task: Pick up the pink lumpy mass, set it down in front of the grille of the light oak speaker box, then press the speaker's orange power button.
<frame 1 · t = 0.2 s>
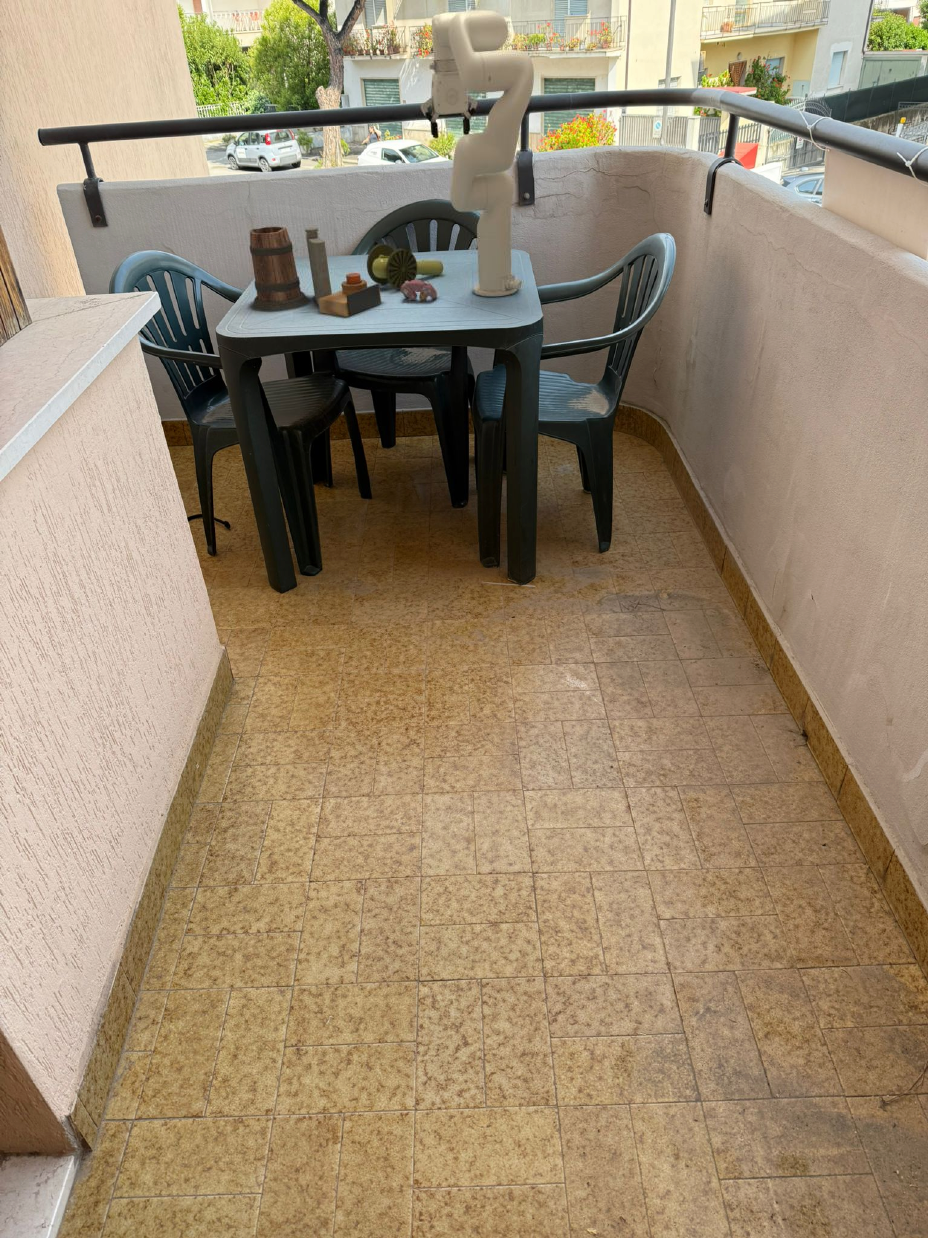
hand: (450, 135, 248), 37 cm above the table, tool pointing down, fingers open, 9 cm apart
cannon: (409, 283, 258), on the table
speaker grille: (365, 309, 236), on the table
speaker: (351, 307, 238), on the table
power button: (353, 279, 237), point 7 cm above the table, slide at 0.1 cm
pink lumpy mass: (419, 300, 241), on the table
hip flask: (322, 302, 245), on the table
tankard: (282, 300, 249), on the table
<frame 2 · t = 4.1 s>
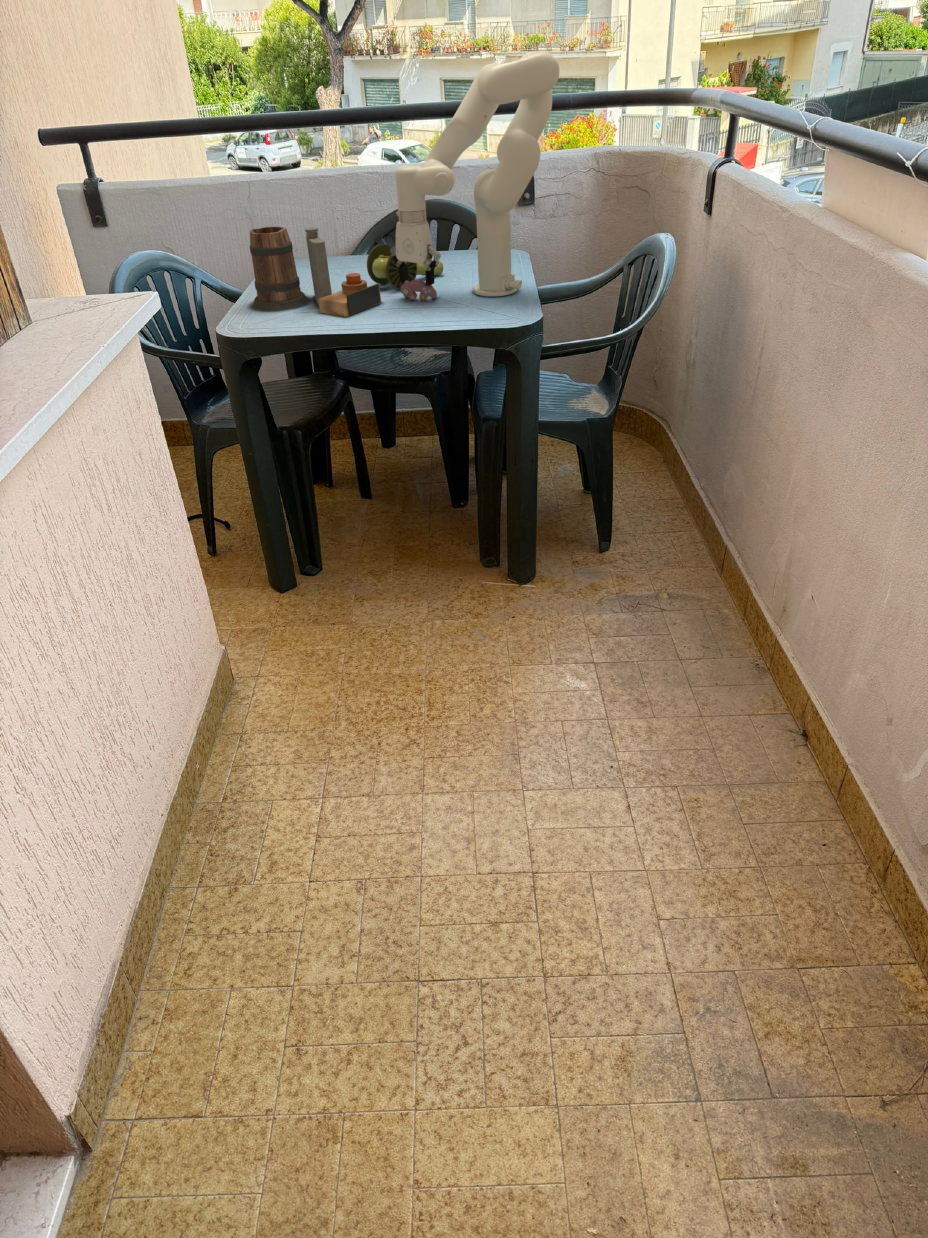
hand: (417, 282, 238), 5 cm above the table, tool pointing down, fingers open, 9 cm apart
pink lumpy mass: (419, 300, 242), on the table, touching gripper
everything else where it was.
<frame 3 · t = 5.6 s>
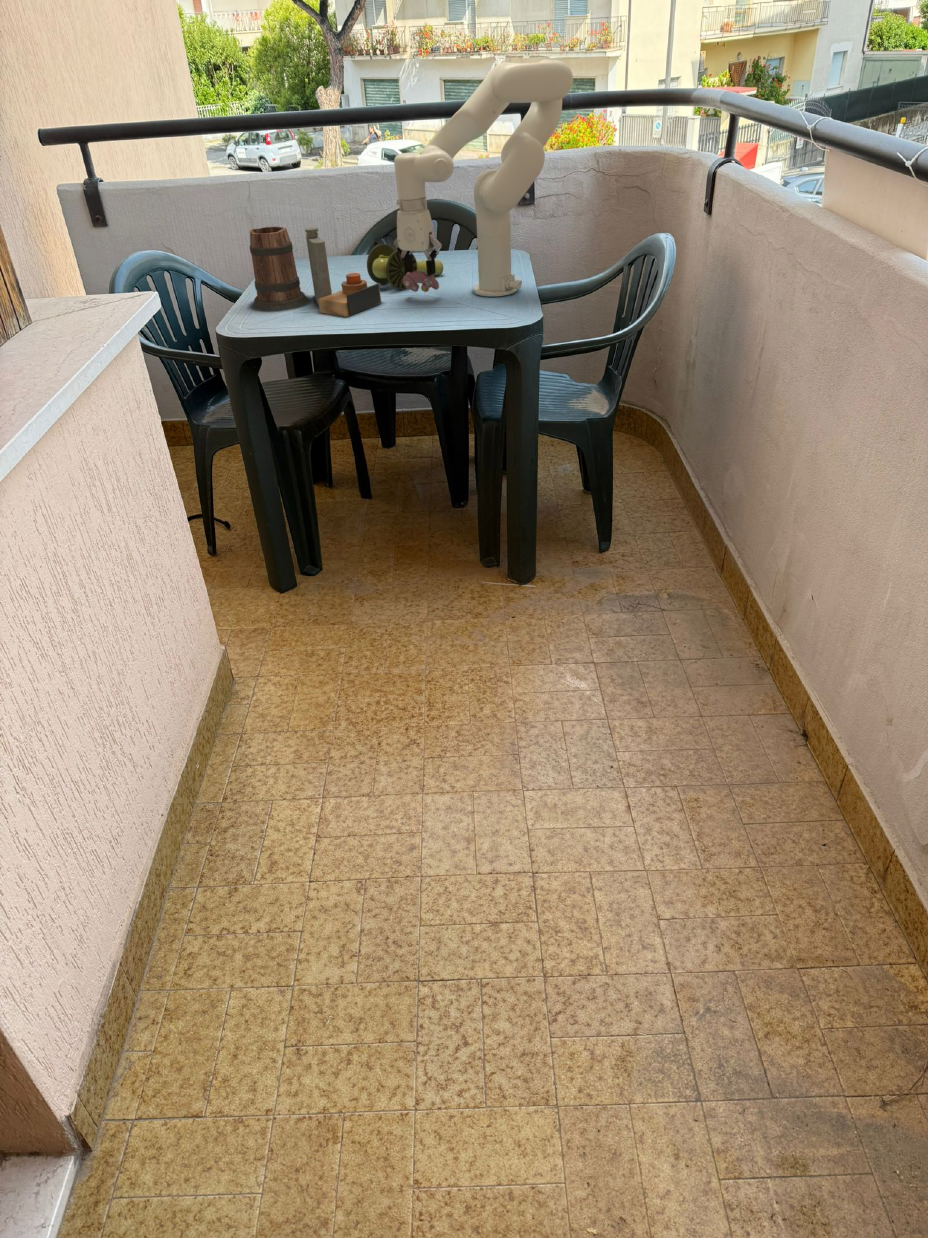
hand: (420, 272, 237), 7 cm above the table, tool pointing down, fingers closed on pink lumpy mass, 7 cm apart
pink lumpy mass: (421, 291, 241), point 2 cm above the table, touching gripper
everything else where it was.
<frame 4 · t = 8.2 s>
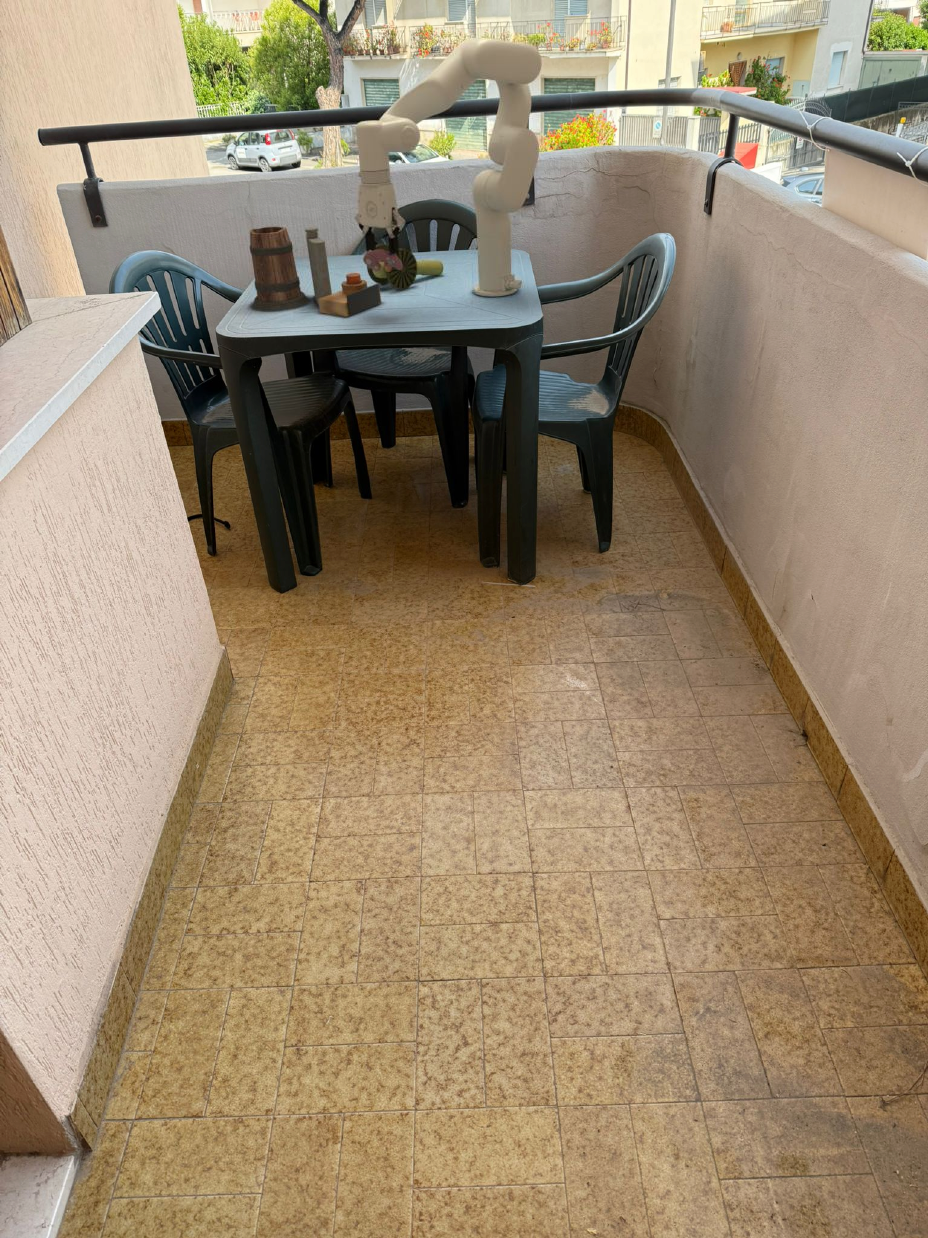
hand: (382, 251, 223), 16 cm above the table, tool pointing down, fingers closed on pink lumpy mass, 7 cm apart
pink lumpy mass: (383, 271, 226), point 11 cm above the table, touching gripper
everything else where it was.
when the fingers open (5 cm above the table, at t = 11.2 s): pink lumpy mass stays where it is, on the table.
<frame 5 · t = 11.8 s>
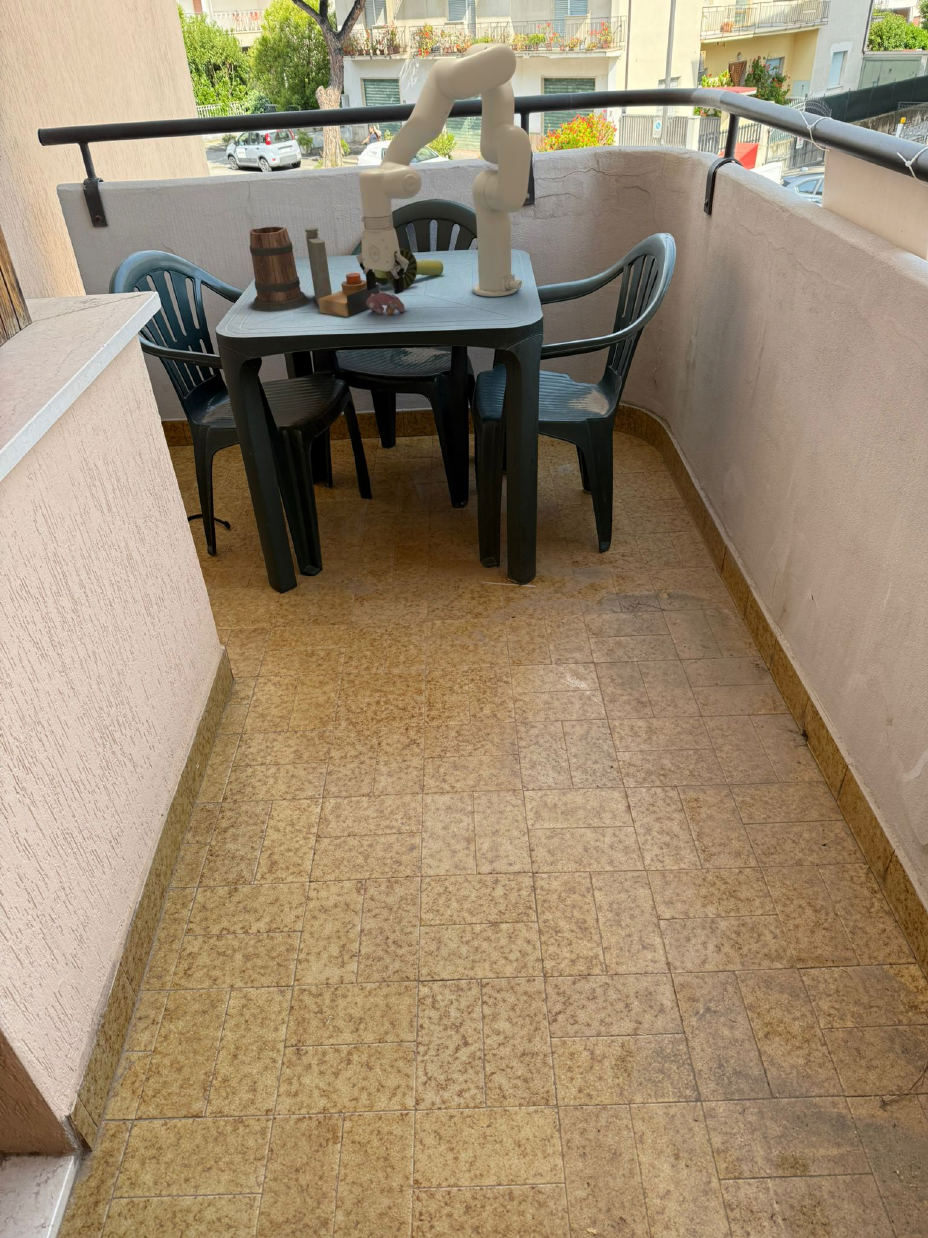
hand: (385, 290, 228), 6 cm above the table, tool pointing down, fingers open, 9 cm apart
pink lumpy mass: (386, 314, 232), on the table
everything else where it was.
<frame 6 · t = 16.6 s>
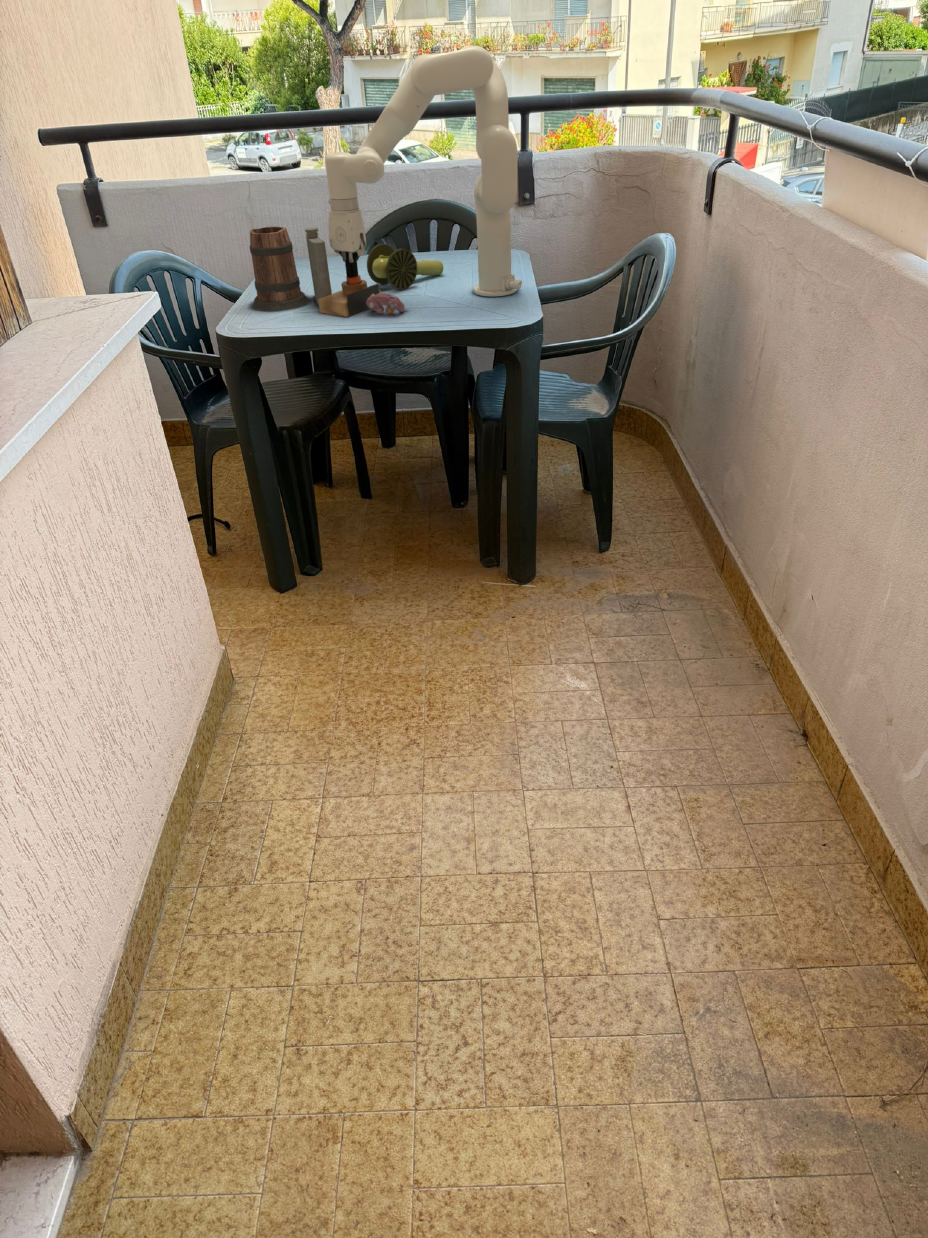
hand: (352, 275, 236), 8 cm above the table, tool pointing down, fingers closed
power button: (353, 280, 237), point 6 cm above the table, slide at -0.4 cm, touching gripper
everything else where it was.
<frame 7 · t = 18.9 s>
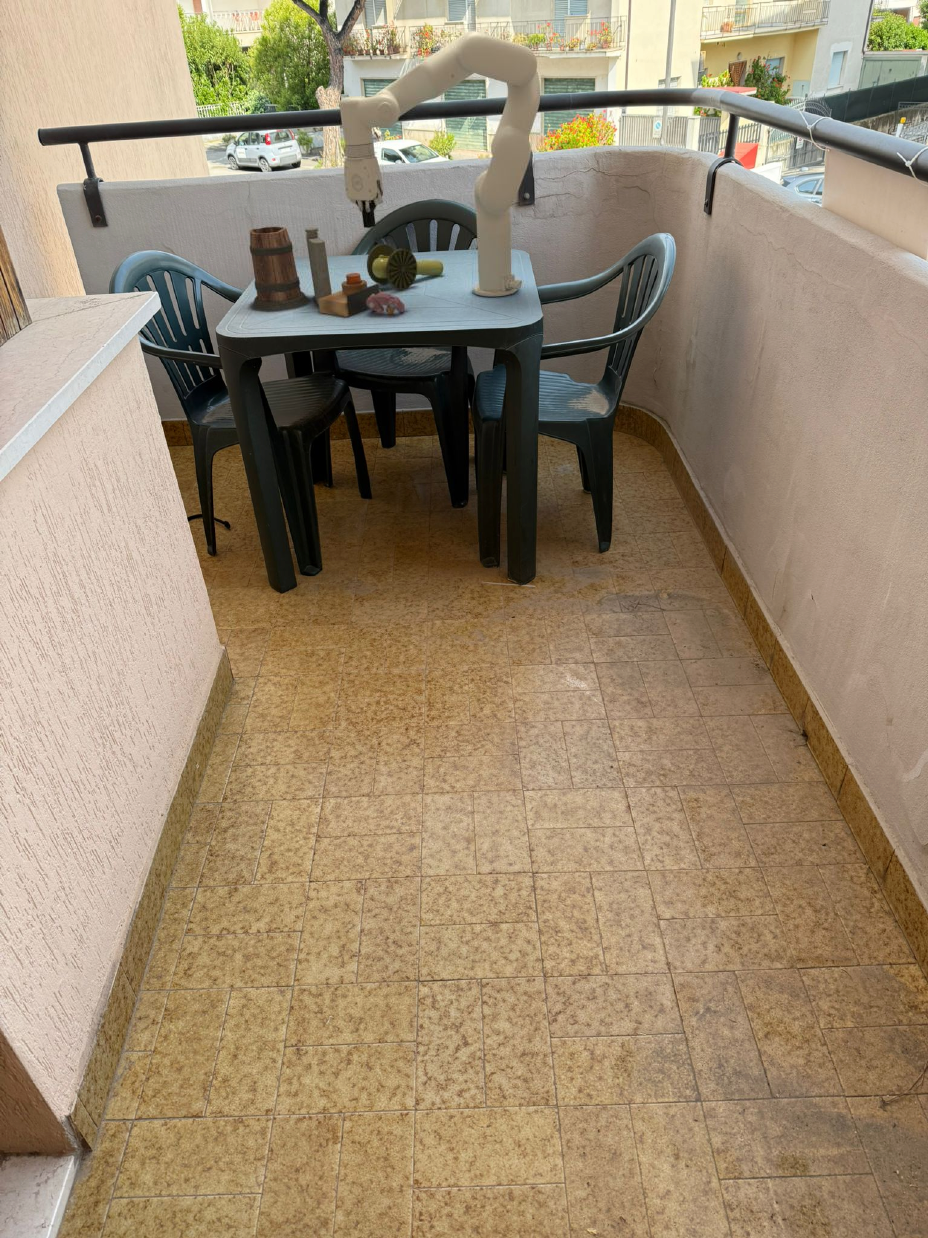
hand: (369, 226, 231), 20 cm above the table, tool pointing down, fingers closed
power button: (353, 279, 237), point 7 cm above the table, slide at 0.1 cm
everything else where it was.
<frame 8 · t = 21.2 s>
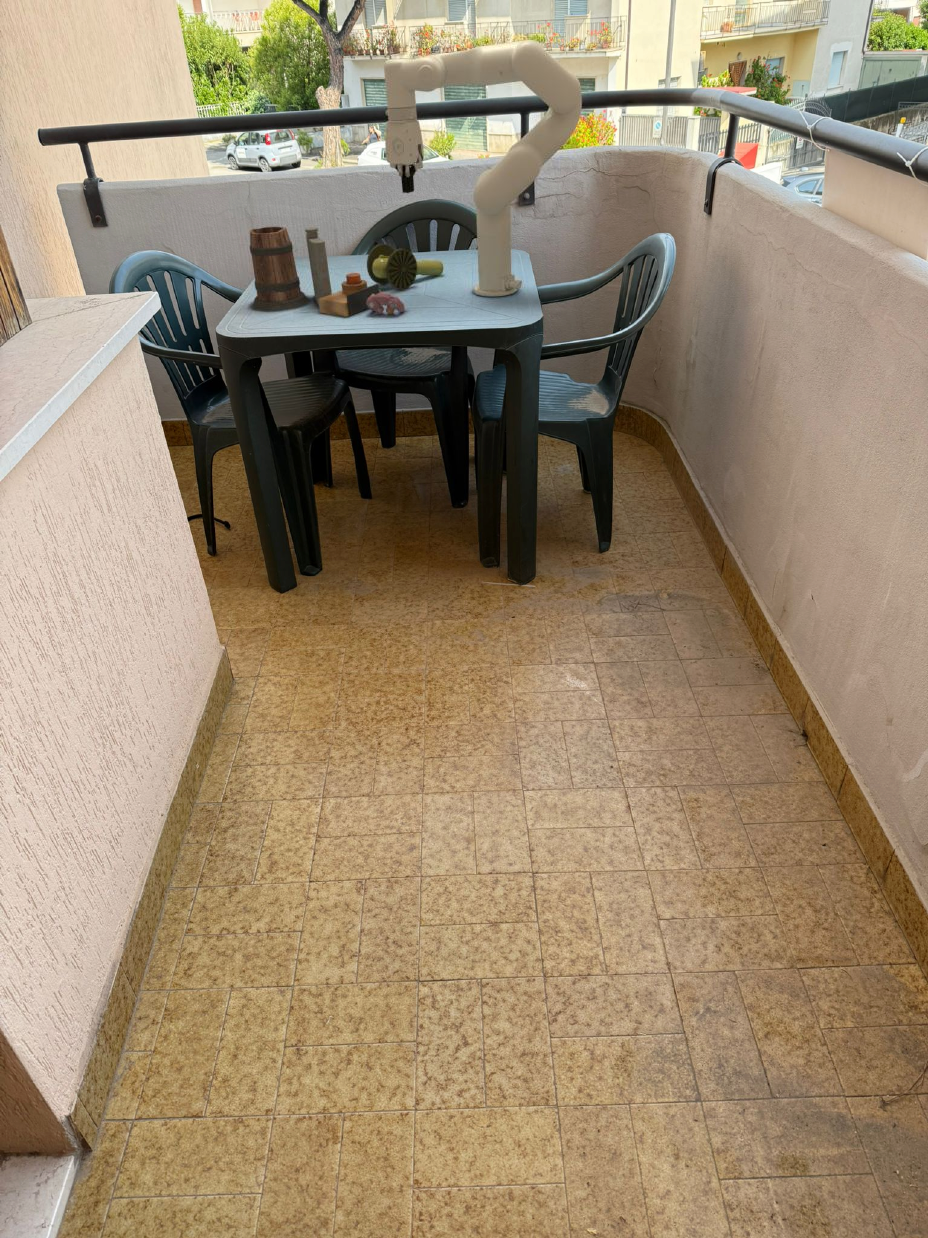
hand: (408, 191, 231), 27 cm above the table, tool pointing down, fingers closed
nothing on the table moved.
at the end: pink lumpy mass inside the target area on the table beside the speaker (0.6 cm from its centre), on the table; power button pushed in 1.1 cm at the most during the clip, back to where it started at the end; power button slide at 0.1 cm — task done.
